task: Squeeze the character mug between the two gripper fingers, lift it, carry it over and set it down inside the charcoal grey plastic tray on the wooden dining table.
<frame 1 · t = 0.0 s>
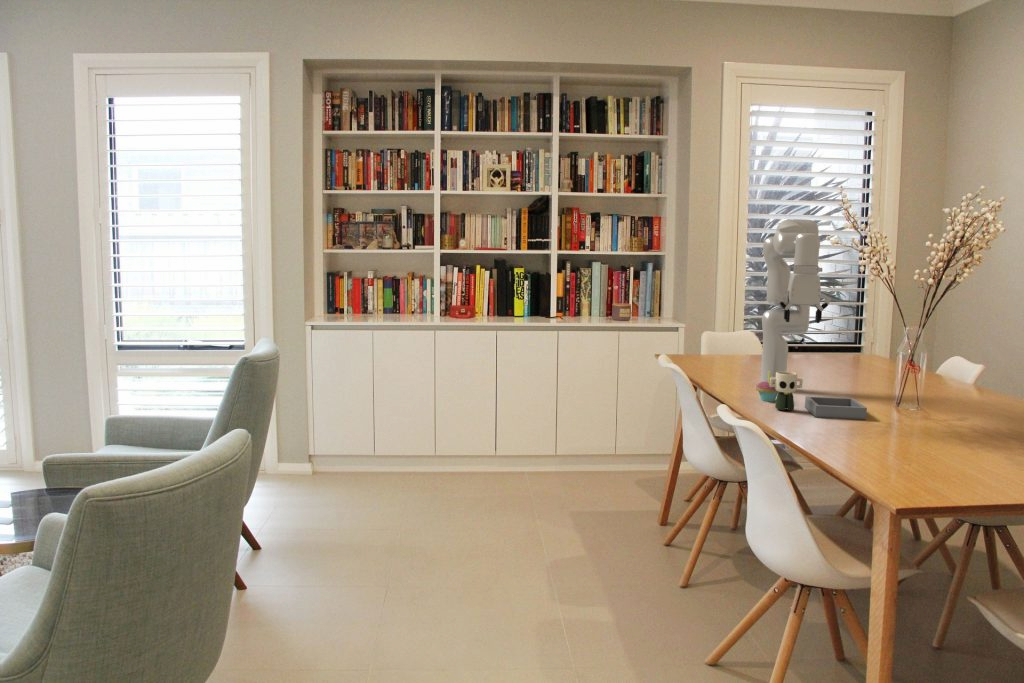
hand: (802, 322, 261), 31 cm above the table, fingers open, 9 cm apart
cupcake: (767, 400, 286), on the table
grey tray: (834, 413, 266), on the table
character mug: (784, 410, 270), on the table
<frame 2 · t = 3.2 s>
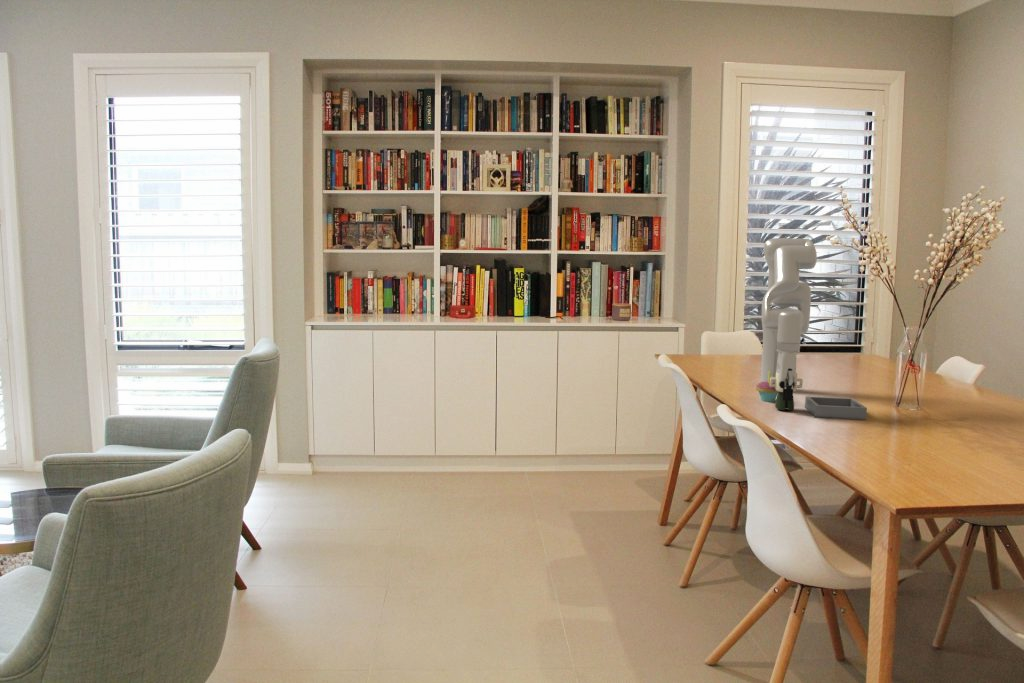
hand: (785, 397, 270), 4 cm above the table, fingers closed on character mug, 7 cm apart
character mug: (784, 410, 270), on the table, touching gripper
everything else where it was.
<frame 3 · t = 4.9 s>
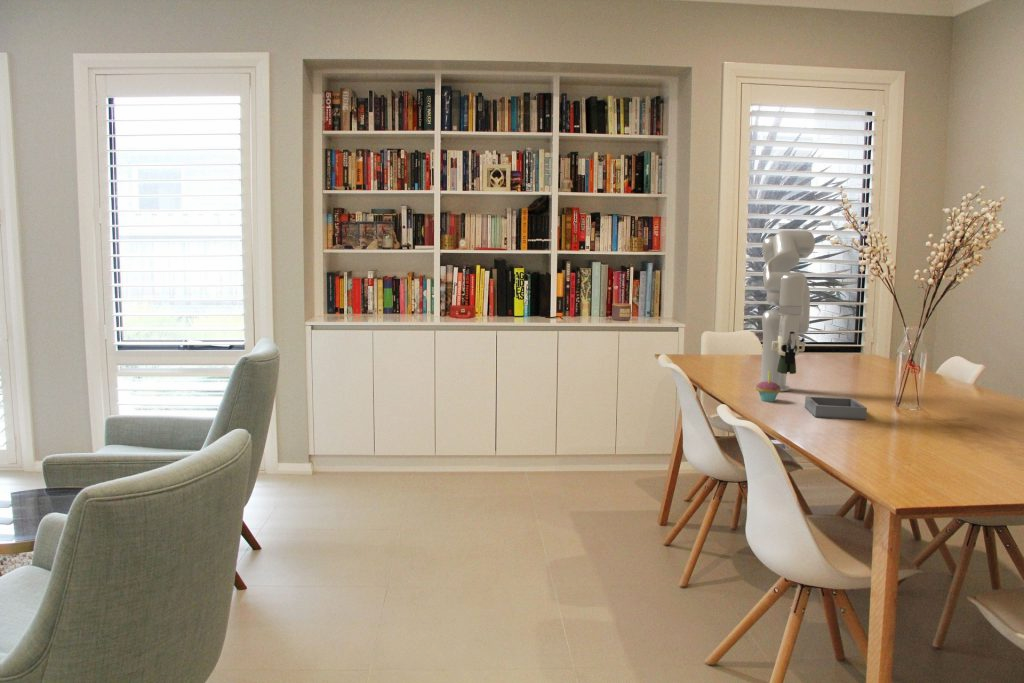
hand: (787, 361, 269), 17 cm above the table, fingers closed on character mug, 7 cm apart
character mug: (786, 374, 269), point 12 cm above the table, touching gripper
everything else where it was.
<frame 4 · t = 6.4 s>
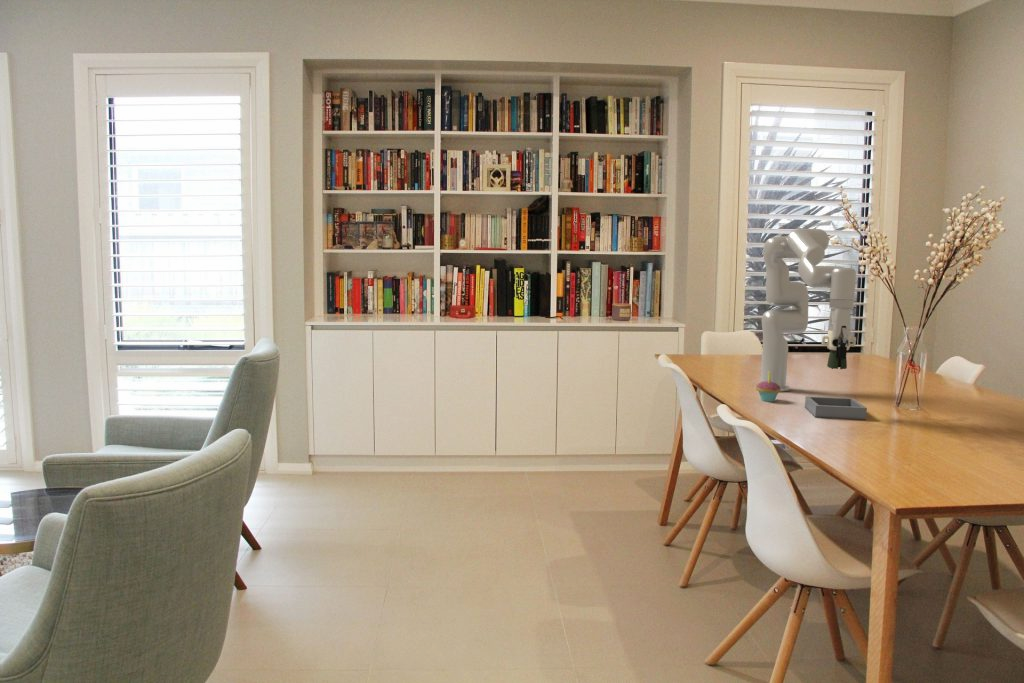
hand: (837, 356, 264), 20 cm above the table, fingers closed on character mug, 7 cm apart
character mug: (836, 369, 264), point 15 cm above the table, touching gripper
everything else where it was.
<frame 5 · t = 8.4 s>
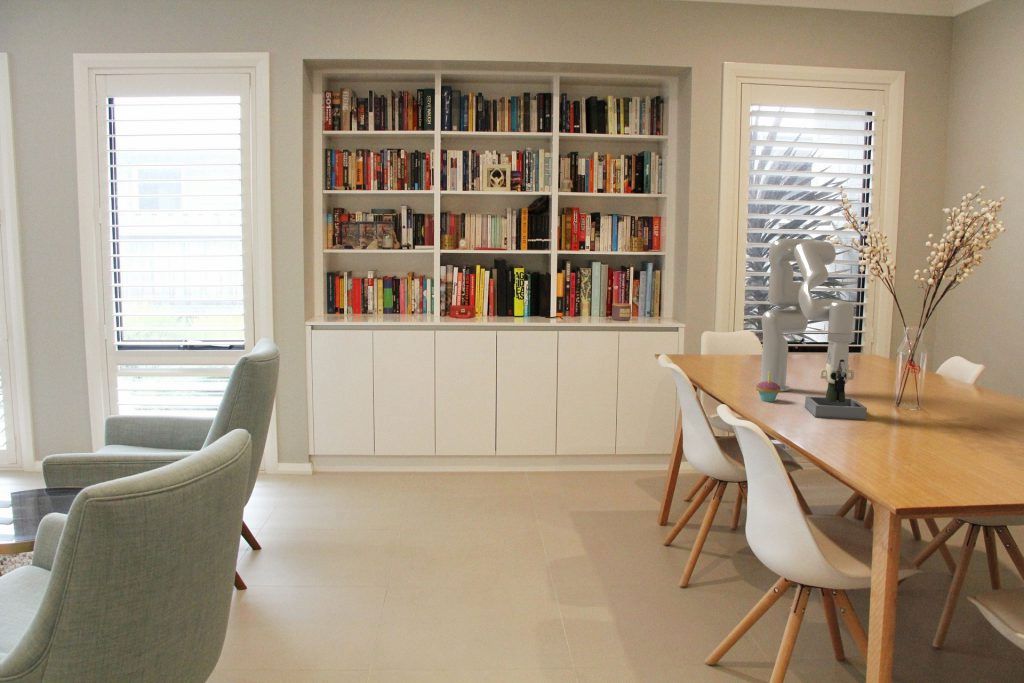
hand: (836, 389, 265), 8 cm above the table, fingers closed on character mug, 7 cm apart
character mug: (835, 402, 265), point 4 cm above the table, touching gripper
everything else where it was.
when the fingers open (6 cm above the table, at t = 10.0 s): character mug stays where it is, resting on grey tray.
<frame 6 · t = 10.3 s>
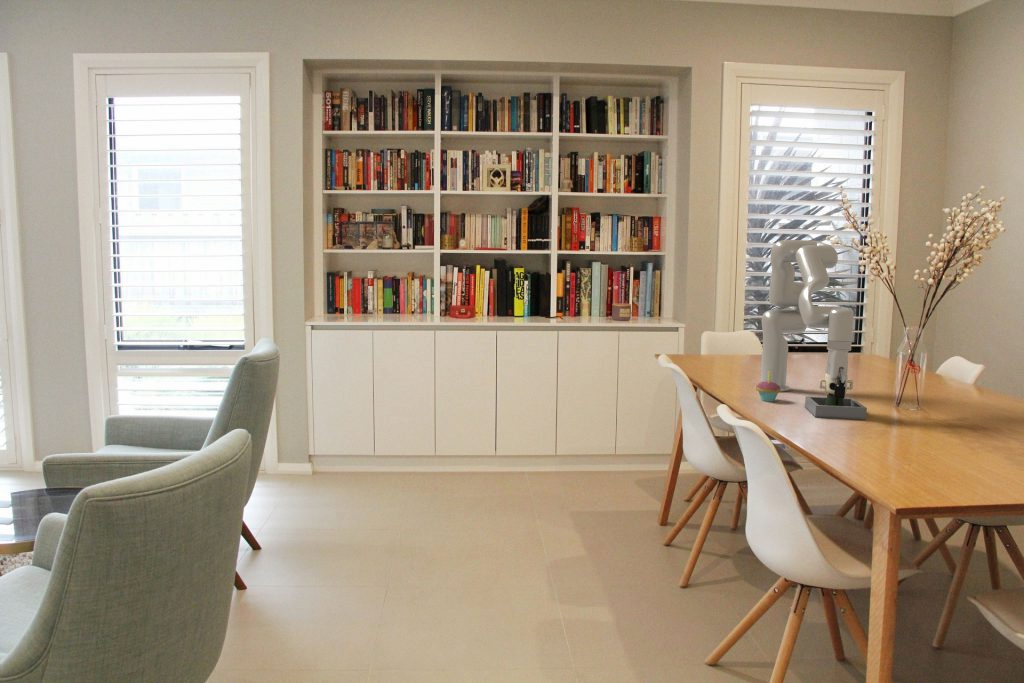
hand: (835, 395, 265), 6 cm above the table, fingers open, 9 cm apart
character mug: (833, 412, 266), resting on grey tray
everything else where it was.
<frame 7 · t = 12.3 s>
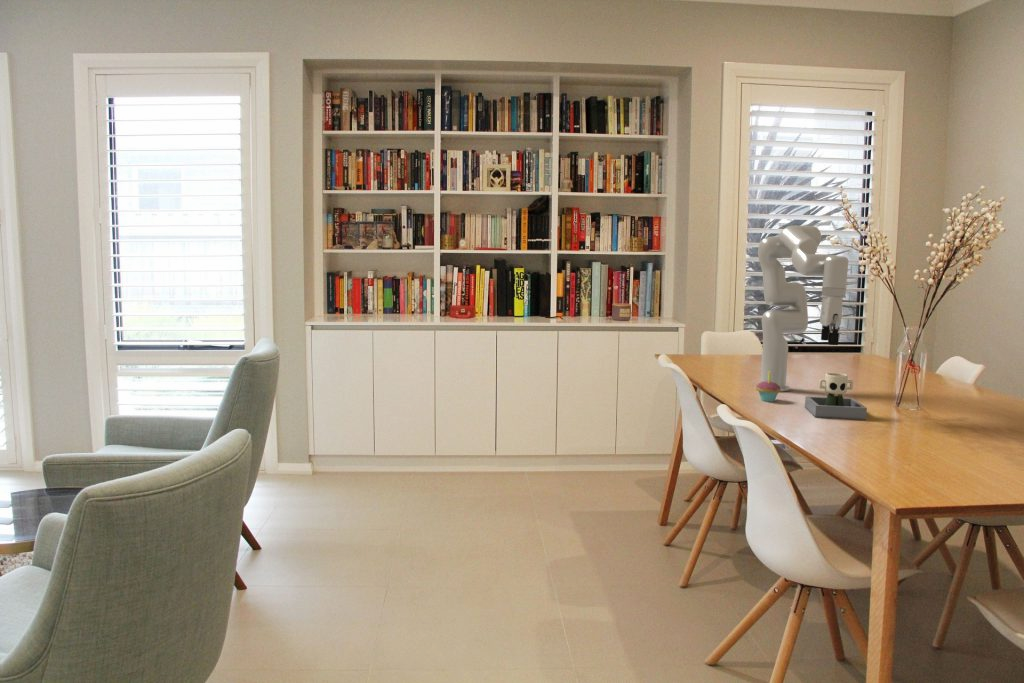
hand: (829, 342, 268), 24 cm above the table, fingers open, 9 cm apart
nothing on the table moved.
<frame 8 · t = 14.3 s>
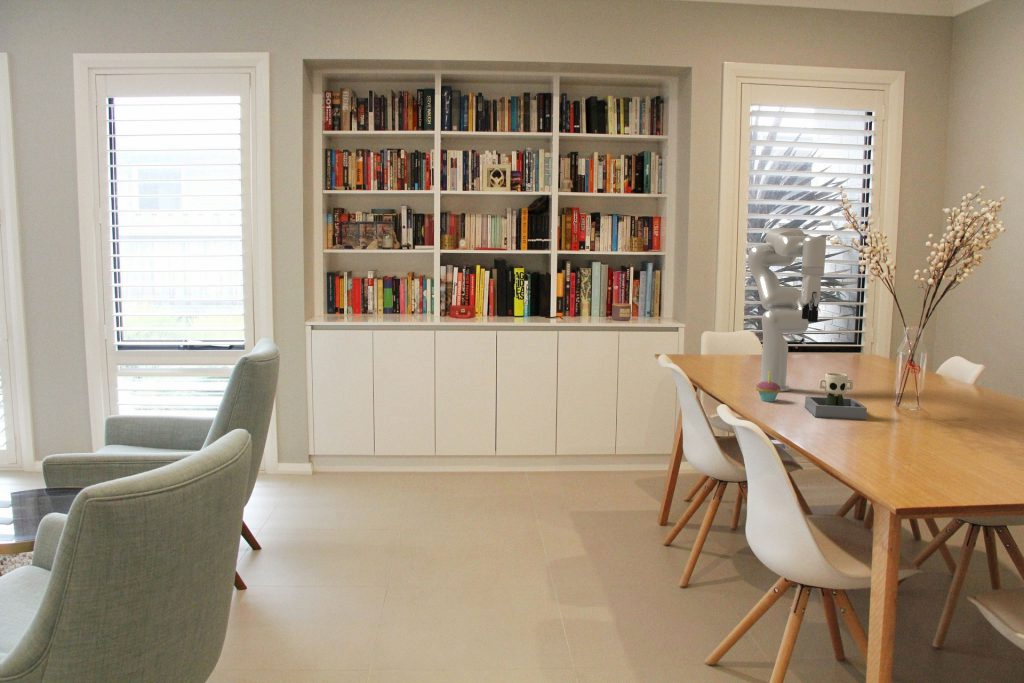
hand: (809, 320, 277), 30 cm above the table, fingers open, 9 cm apart
nothing on the table moved.
at the end: character mug inside the target area on the grey tray (0.2 cm from its centre), point 0.3 cm above the grey tray's base; character mug tilted 0°; the gripper is holding nothing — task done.
